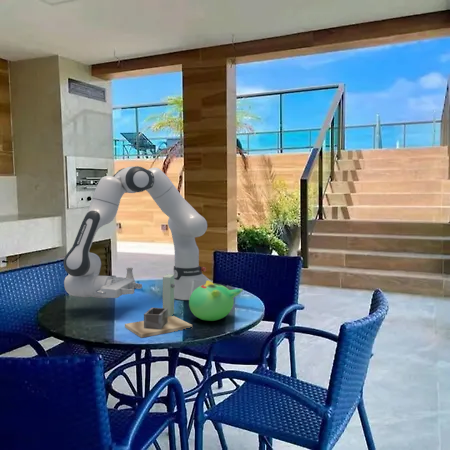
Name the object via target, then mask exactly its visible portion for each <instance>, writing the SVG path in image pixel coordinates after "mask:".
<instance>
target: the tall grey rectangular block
mask: <svg viewBox="0 0 450 450" xmlns="http://www.w3.org/2000/svg"><path fill="white" fill-rule="evenodd" d="M174 287H175V285H174V273H173V274H169V273H168V274H167V273H166V274H165V275H164V276H162V308H168V317H169V316H172V315H173V314H174V315H175V299H174ZM174 315H173V316H174Z"/></svg>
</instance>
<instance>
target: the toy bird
mask: <svg viewBox="0 0 450 450" xmlns="http://www.w3.org/2000/svg"><path fill="white" fill-rule="evenodd" d="M211 281H212V280H211ZM211 281H206V284H204V285H201V286H199V287H198V288H196V289H195V290H194V291H193V293H192V294H191V296H190V299H189V300H188V306H189V307H188V308H189V310H190V311H191V313H192V314H193V316H194V317H196V318H198V319H200V320H202V321H206V322H214V321H219V320H221V319H224V318H225V317H227V316H228V315H229V314H230V312H231V311H232V309H233V307H234V303H235V301H234V300H235V299H234V298H235V297H237V296H238V295H240V294H241V293H242V292H243V289H244V288H235V289H229V288H228V287H226V286H225V285H222V284H219V283H214V282H213V281H212V282H213V283H212V282H211Z"/></svg>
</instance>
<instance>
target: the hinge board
mask: <svg viewBox="0 0 450 450" xmlns="http://www.w3.org/2000/svg"><path fill="white" fill-rule="evenodd" d="M190 327H192V328H193V324H191V323H190V322H187V321H185V320H183V319H181V318H179V317H177V316H175V315H173V316H169V317H168V308H163V307H150V308H149V309H148V310H147V311H146V312H144V313H143V320H140V321H135V322H133V321H132V322H129V323H124V328H125V329H127V330H128V331H130V332H132V333H133V334H135V335H136V336H138V337H139V338H142V339H143V338H149V337H153V336H158V335H163V334H164V335H165V334H168V333H174V331H175V332H179V331H178V330H180V331H184V330H183V329H185V330H187V329H186V328H190Z"/></svg>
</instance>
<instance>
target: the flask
mask: <svg viewBox="0 0 450 450" xmlns="http://www.w3.org/2000/svg"><path fill="white" fill-rule="evenodd" d="M133 268H134V267H127V268H126V277H125V278H130V279H134V283H136V280H135V278H134V274H133ZM132 289H134V290H135V289H136V288H132Z"/></svg>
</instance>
